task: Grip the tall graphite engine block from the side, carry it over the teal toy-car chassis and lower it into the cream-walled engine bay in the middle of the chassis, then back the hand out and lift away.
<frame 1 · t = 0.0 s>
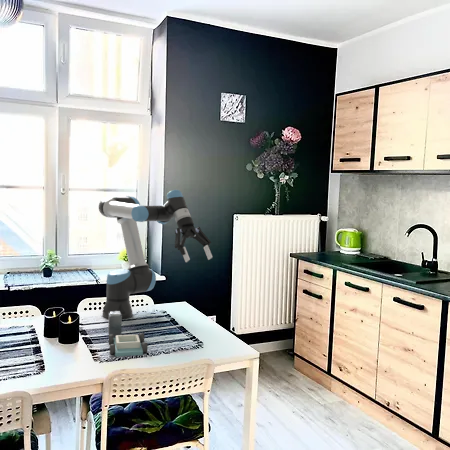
hand: (199, 259, 218), 36 cm above the table, tool tilted 35°, fingers open, 13 cm apart
engine block: (114, 333, 218), on the table
chassis: (127, 347, 201), on the table
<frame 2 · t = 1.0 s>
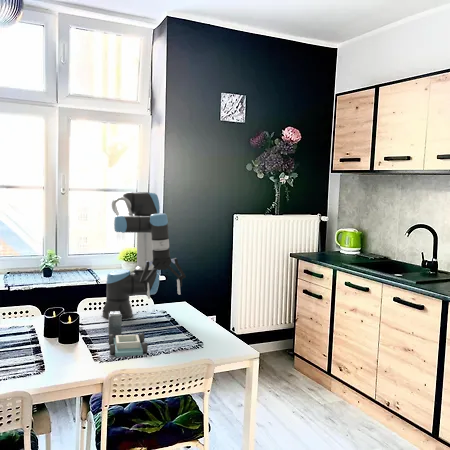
hand: (164, 295, 211), 20 cm above the table, tool pointing down, fingers open, 13 cm apart
nothing on the table moved.
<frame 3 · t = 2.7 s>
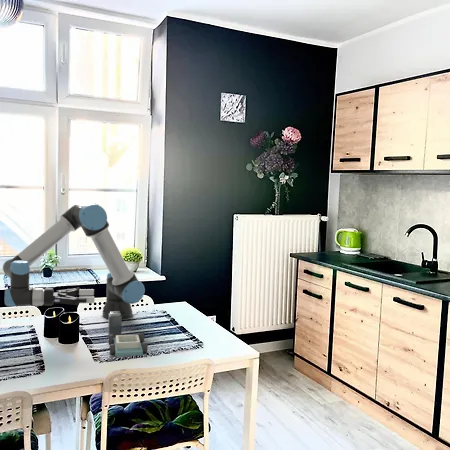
hand: (94, 295, 213), 18 cm above the table, tool horizontal, fingers open, 13 cm apart
nothing on the table moved.
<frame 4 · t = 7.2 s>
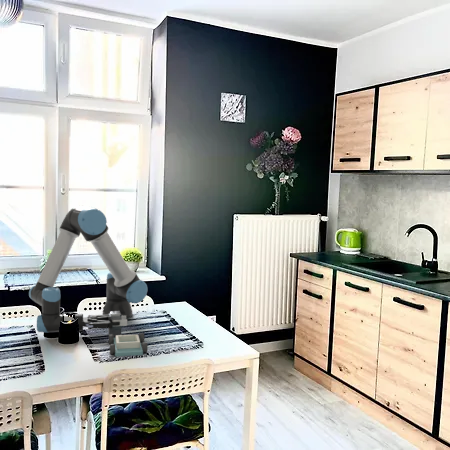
hand: (126, 320, 219), 6 cm above the table, tool horizontal, fingers closed on engine block, 5 cm apart
engine block: (114, 333, 218), on the table, touching gripper
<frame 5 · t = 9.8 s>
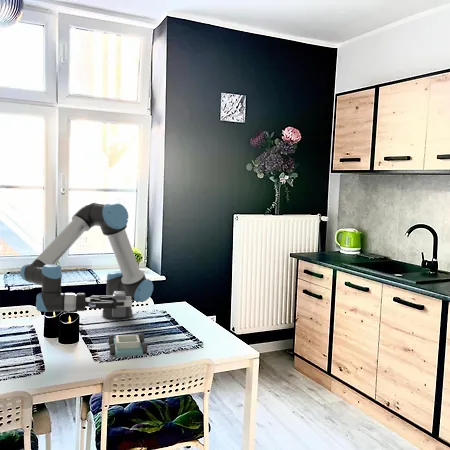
hand: (131, 301, 206), 18 cm above the table, tool horizontal, fingers closed on engine block, 5 cm apart
engine block: (118, 315, 205), point 12 cm above the table, touching gripper
when the fingers open (9 cm above the table, at t = 12.2 s): engine block drops 2 cm, resting on chassis.
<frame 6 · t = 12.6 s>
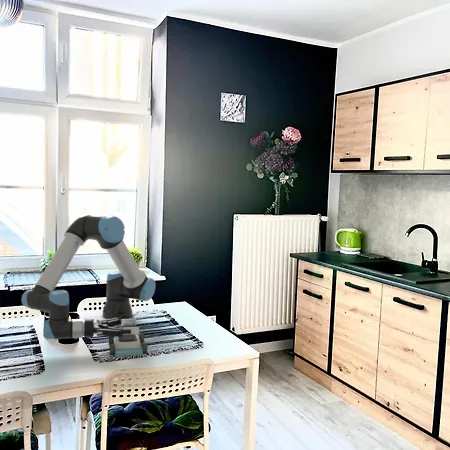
hand: (137, 326, 201), 9 cm above the table, tool horizontal, fingers open, 11 cm apart
engine block: (127, 344, 201), point 1 cm above the table, touching chassis
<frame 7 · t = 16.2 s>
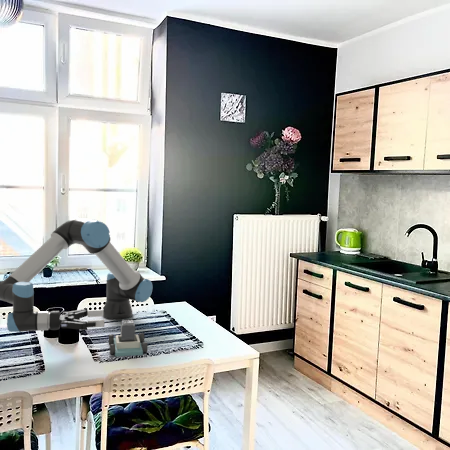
hand: (103, 317, 197), 13 cm above the table, tool horizontal, fingers open, 13 cm apart
nothing on the table moved.
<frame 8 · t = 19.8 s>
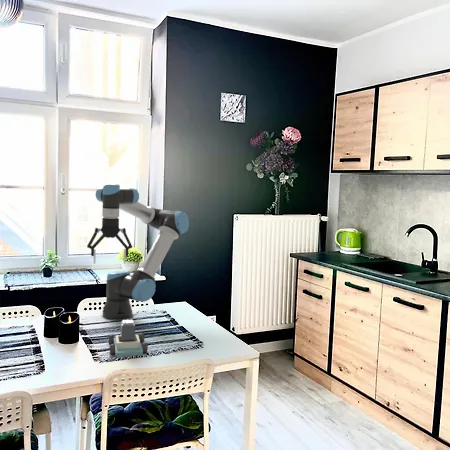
hand: (109, 263, 220), 32 cm above the table, tool pointing down, fingers open, 13 cm apart
nothing on the table moved.
at the end: engine block 0.1 cm off-centre on the chassis, point 1.5 cm above the chassis's base; engine block tilted 0°; the gripper is holding nothing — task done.
